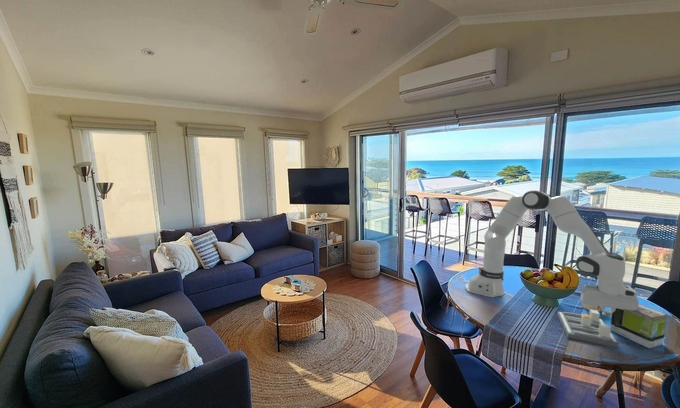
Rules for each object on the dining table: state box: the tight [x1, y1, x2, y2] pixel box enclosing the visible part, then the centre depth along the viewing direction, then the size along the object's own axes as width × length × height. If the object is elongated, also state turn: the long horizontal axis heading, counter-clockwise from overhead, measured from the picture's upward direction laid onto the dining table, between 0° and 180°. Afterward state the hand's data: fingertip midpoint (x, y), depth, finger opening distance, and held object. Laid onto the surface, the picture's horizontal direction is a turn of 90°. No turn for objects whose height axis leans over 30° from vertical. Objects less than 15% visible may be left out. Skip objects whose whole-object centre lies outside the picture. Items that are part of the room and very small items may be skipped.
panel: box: [556, 309, 619, 348], centre depth 141 cm, size 18×22×7 cm
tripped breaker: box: [580, 313, 591, 327], centre depth 141 cm, size 3×4×5 cm
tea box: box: [609, 303, 668, 349], centre depth 134 cm, size 15×10×15 cm
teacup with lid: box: [581, 301, 603, 313], centre depth 161 cm, size 12×9×12 cm
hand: (606, 315), depth 138 cm, fingers closed
